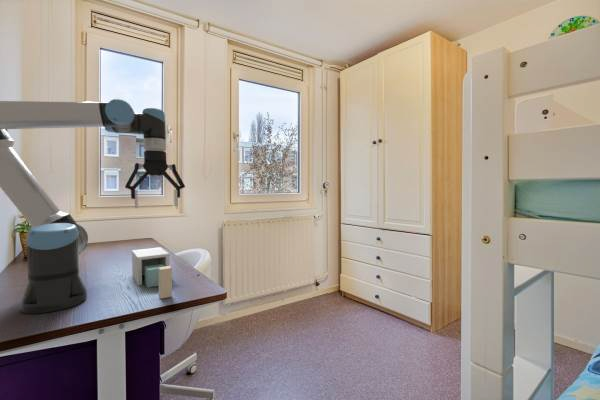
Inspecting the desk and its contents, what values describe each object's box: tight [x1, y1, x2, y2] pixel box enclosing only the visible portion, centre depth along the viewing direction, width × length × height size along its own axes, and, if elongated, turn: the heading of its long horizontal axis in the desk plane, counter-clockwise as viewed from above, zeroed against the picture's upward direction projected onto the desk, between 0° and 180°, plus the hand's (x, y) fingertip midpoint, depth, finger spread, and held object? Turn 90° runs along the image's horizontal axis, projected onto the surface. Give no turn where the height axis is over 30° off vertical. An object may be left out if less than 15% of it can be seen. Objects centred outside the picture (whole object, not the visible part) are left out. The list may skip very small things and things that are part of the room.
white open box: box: [131, 246, 170, 286], centre depth 113 cm, size 10×15×10 cm
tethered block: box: [144, 264, 173, 299], centre depth 99 cm, size 6×20×9 cm, turn 36°
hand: (156, 207), depth 112 cm, fingers open, 13 cm apart
